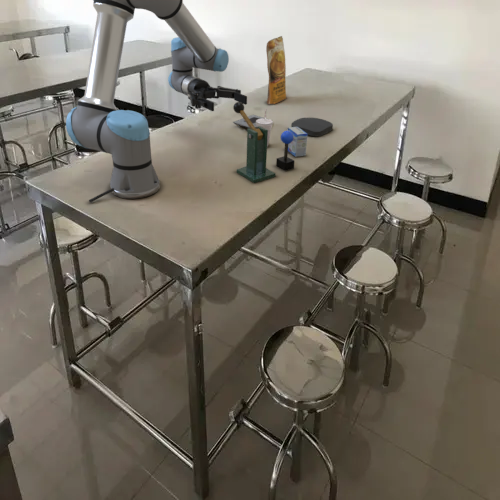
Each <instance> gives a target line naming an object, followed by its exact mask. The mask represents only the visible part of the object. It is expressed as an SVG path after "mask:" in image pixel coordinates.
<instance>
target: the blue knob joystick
mask: <svg viewBox="0 0 500 500" xmlns="http://www.w3.org/2000/svg"><path fill="white" fill-rule="evenodd" d="M293 138H294V136H293V133H292V132H290V131H288V130H284V131H282V132H281V134H280V141H281V142H282V143H283V144H284V150H283V156H279V157H276V160H275V167H277V168H278V169H280V170H282V171H284V172H287V171H290V170H294V169H295V160H294V159H292V158H290V157H289V155H288V154H289V151H288V144H289V143H291V142H292V141H293Z"/></svg>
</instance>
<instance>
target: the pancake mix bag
mask: <svg viewBox="0 0 500 500" xmlns="http://www.w3.org/2000/svg"><path fill="white" fill-rule="evenodd" d="M265 51H266V60H267V62H266V65H267V75H268V83H267V98H266V99H267V100H266V104H267V105H276V104H278V103H280V102H282V101H284V100H286V99H287V92H286V91H287V90H286V81H287V80H286V75H287V74H286V73H287V72H286V71H287V70H286V69H287V68H286V66H287V65H286V53H285V52H286V51H285V45H284V37H283V35H280V36H277V37H274V38H272V39H270V40H269V41H267V43H266V50H265Z"/></svg>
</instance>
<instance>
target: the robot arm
mask: <svg viewBox="0 0 500 500" xmlns="http://www.w3.org/2000/svg"><path fill="white" fill-rule="evenodd" d="M92 1H93V4H92V6H93V8H94V10H95V11H96V20H95V27H94V33H93V38H92V39H93V40H92V45H91V51H90V58H89V64H88V71H87V76H86V83H85V89H84V95H83V96H82V97H80V98H79V99H78V100H77V105H76V107H72V108H71V110H70V111H69V112H68V113H67V115H66V118H65V119H66V120H65V129H66V132H67V134H68V137H69V139H70V140H71V141H72V142H73V143H74V144H76V145H77V146H79V147H82V148H84V149H87V150H88V149H89V150H93V151H98V152H102V153H106V154H110V155H111V158H112V160H111V161H112V167H113V168H112V172H111V176H110V182H109V189H108V190H106V191H104V192H101V193H100V194H98V195H96V196H94V197H92V198H91V199H89V200H88V202H89V203H92V202H94V201H96V200H98V199H100V198H102V197H103V196H106V195H108V194H110V193H111V194H112V195H114V196H115V197H118V198H122V199H127V200H128V199H129V200H134V199H135V200H136V199H143V198H147V197H150V196H152V195H154V194H156V193H158V191H159V190H160V188H161V184H160V183H161V182H160V181H161V180H160V178H159V176H158V173H157V172H156V170H155V168H154V165H153V159H152V147H151V136H150V135H151V131H150V128H149V121H148V119H147V118H146V117H145V115H143V114H142V113H140V112H137V111H134V110H129V109H127V110H124V109H117V107H116V105H115V103H114V102H115V96H116V90H117V85H118V78H119V73H120V66H121V62H122V61H121V60H122V54H123V48H124V42H125V38H126V37H125V35H126V31H127V26H128V25H127V24H128V23H129V22H130V21H131V20H133V19H134V16H135V11H136V10H135V9H137V10H145V11H148V12H151V13H152V14H153V15H155V16H156V17H157V18H158V19H159V20H162V21H164V22H165V23H166V24H167V25H168V26H169V27H170V28H171V30H172V31H173V32H174V34H176V36H177V37H174V38H172V39H171V41H170V47H171V48H170V53H171V54H170V55H171V65H172V71H171V72H170V73H169V75H168V78H167V82H168V85H169V87H170V88H172V89H173V90H174V91H176V92H177V93H180V94H183V95H185V96H187V99H188V100H190V104H191V107H196V105H197V109H201V108H202V107H203V108H204V109H206V110H209V111H210V112H215V102H214V101H211V100H209V99H220V98H221V99H222V98H223V99H233V100H234V101H236V102H241V103H243V105H244V106H245V105H248V96H247V95H245V94H242V90H241V89H239V88H232V87H231V88H230V87H224V86H220V85H217V86H216V87H213V86H211V84H210V83H209V82H208V81H206V80H205V79H202V78H200V77H198V76H195V75H193V74H194V73H193V72H194V71H193V70H194V69H199V70H205V71H211V72H219V73H220V72H221V73H222V72H225V71H226V70H227V68H228V65H229V60H230V59H229V58H230V57H229V53H228V52H227V50H225V49H222V48H217V47H216V45H215V44H214V43H213V41H212V40H211V39H210V37H209V36H208V35H207V33H206V32H205V31H204V29H203V28H202V27H201V25H200V24H199V22H198V21H197V20H196V18H195V17H194V16H193V14H192V13H191V12H190V10H189V9H188V8H187V6H186V5H185V4H184V0H92Z"/></svg>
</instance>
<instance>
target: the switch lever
mask: <svg viewBox="0 0 500 500" xmlns="http://www.w3.org/2000/svg"><path fill="white" fill-rule="evenodd" d="M232 109H233V111H234V112H235V113H236V114H240V116H241V118H244V120H245V121H246V123H247V124H248V126H249V127H250V129H252V130H254V131H256V132H258V140H261V139H262V137H263V133H262V132H261V130H260V129H257V128H255V127H254V125H253V124H252V122H251V121H250V119H249V118H248V116H249V115H248V114H247V113H246V112H245V104H243V103H241V102H238V101H236V102H235V103H234V105H233V107H232Z"/></svg>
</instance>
